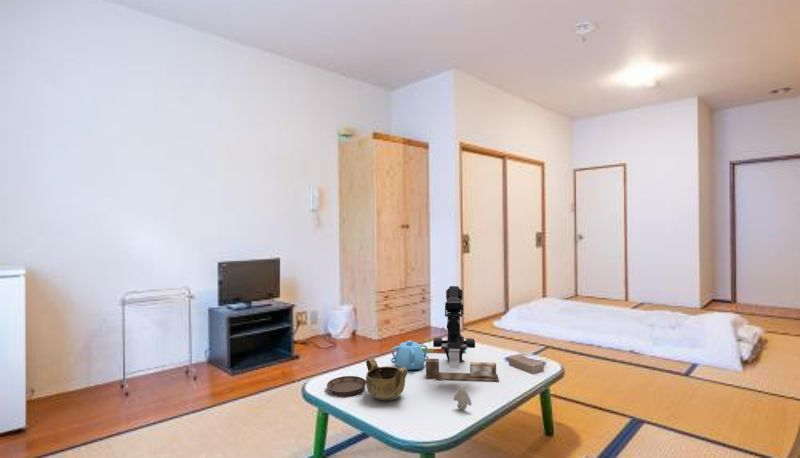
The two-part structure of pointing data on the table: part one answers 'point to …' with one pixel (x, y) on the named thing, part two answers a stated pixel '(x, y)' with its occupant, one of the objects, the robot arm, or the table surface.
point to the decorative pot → (409, 355)
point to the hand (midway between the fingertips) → (454, 361)
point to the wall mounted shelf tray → (482, 369)
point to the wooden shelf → (451, 374)
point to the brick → (526, 364)
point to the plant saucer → (346, 385)
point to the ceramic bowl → (384, 380)
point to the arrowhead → (462, 398)
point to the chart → (436, 349)
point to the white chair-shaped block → (453, 358)
